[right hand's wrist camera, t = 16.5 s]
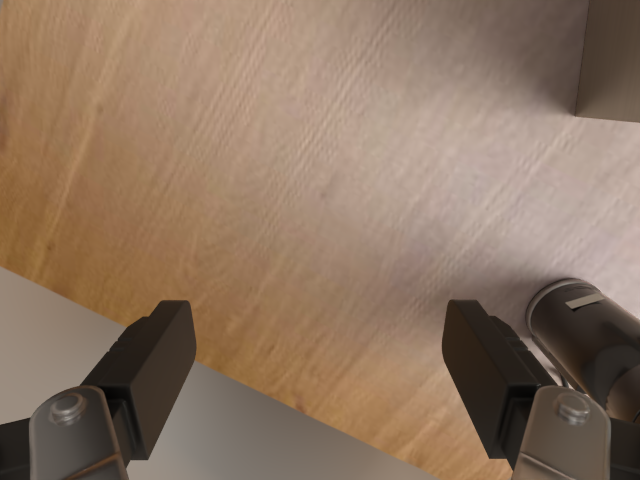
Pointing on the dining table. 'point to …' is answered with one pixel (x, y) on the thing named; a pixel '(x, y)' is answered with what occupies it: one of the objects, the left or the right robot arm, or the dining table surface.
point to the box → (611, 62)
